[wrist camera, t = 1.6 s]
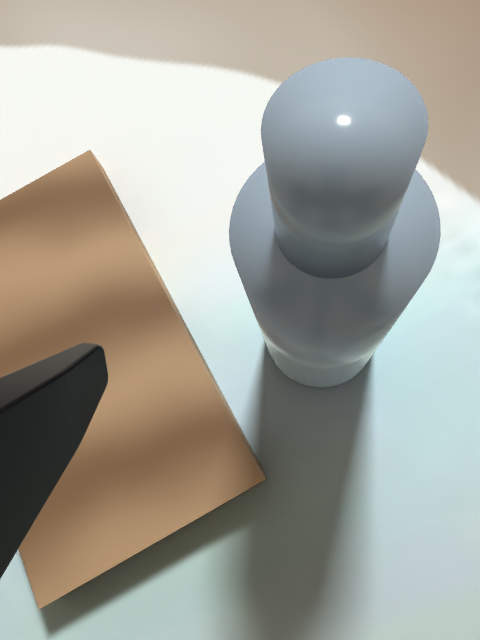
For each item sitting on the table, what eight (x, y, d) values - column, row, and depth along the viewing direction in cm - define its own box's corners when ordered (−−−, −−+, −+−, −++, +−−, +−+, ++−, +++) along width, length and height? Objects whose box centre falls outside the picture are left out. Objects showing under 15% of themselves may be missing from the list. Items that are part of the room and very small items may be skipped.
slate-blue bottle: (389, 371, 20) (560, 210, 6) (281, 399, 20) (231, 301, 7) (355, 271, 21) (437, -29, 8) (255, 299, 22) (170, 55, 8)
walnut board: (267, 478, 19) (263, 480, 18) (59, 597, 19) (39, 609, 18) (102, 166, 25) (89, 149, 23) (-61, 258, 25) (-83, 246, 23)
